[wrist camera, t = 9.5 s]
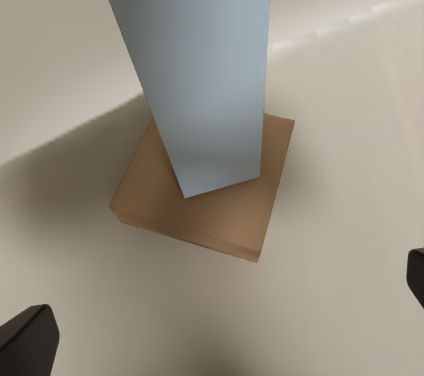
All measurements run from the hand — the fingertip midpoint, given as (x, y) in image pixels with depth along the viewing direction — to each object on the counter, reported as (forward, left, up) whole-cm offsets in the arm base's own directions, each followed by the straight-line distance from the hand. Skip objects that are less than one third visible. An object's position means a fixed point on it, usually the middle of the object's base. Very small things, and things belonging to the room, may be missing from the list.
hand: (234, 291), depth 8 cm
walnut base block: (+4, -8, -12) cm, 15 cm away
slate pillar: (+4, -9, -9) cm, 13 cm away
